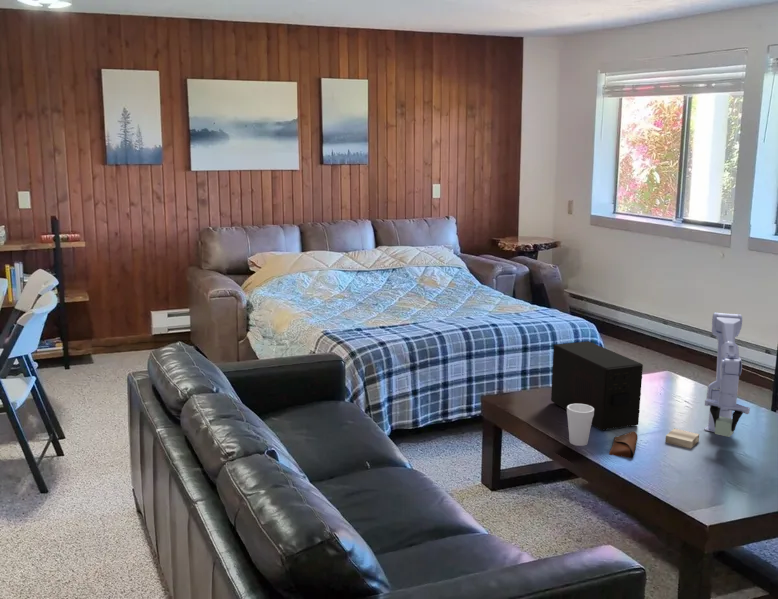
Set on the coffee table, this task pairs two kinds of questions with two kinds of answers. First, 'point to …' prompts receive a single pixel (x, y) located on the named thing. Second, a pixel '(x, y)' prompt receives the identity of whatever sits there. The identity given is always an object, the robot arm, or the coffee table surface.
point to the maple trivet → (682, 438)
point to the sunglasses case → (624, 445)
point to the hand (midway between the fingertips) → (724, 428)
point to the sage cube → (724, 426)
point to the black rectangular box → (597, 383)
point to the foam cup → (579, 423)
